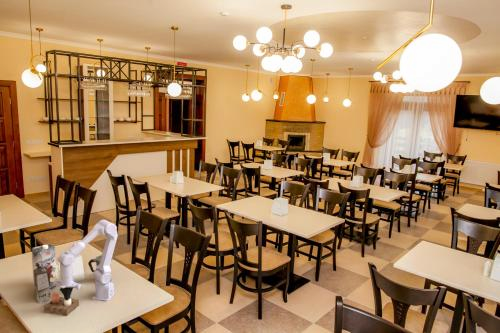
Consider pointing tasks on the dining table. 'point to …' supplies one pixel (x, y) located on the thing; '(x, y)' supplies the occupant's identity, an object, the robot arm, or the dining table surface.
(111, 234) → the robot arm
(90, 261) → the coffeepot
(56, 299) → the rust plug
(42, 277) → the coffee box
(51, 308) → the socket board
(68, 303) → the cream plug
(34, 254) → the juice carton
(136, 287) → the dining table surface
